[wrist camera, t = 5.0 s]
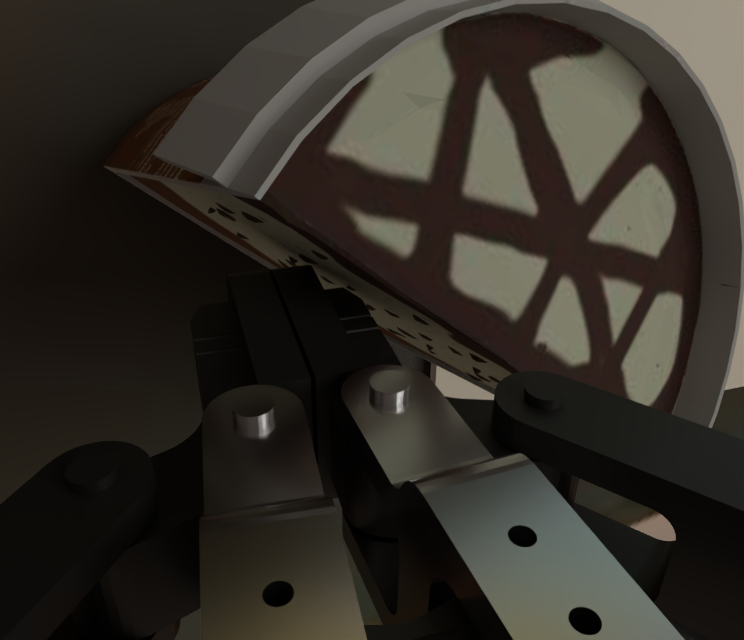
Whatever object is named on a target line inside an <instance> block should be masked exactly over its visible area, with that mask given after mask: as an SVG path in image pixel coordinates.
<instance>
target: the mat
mask: <svg viewBox="0 0 744 640" xmlns="http://www.w3.org/2000/svg"><path fill="white" fill-rule="evenodd" d="M599 1H601V2H603V3H605V4H607V5H609V6H611V7H613V8H615V9H617V10H618V11H620V12H622V13H624V14H626V15H628V16H630V17H632V18H634V19H636V20H638V21H640V22H642V23H644V24H645V25H647V26H649V27H650V28H651V29H652V30H653V31H655V32H656V33H657V34H658V35H659V36H660V37H662V38H663V39H664V40H665V41H666V42H667V43H668V44H670V45H671V46H672V47H673V48H674V49H675V50H677V51H678V52H679V53H680V55H681V56H682V57H683V58H684V60H685V61H686V62H687V64H688V65H689V66H690V68H691V69H692V70H693V72H694V73H695V74H696V76H697V77H698V78H699V79H700V81H701V82H702V83H703V85H704V87H705V89H706V90H707V92H708V94H709V96H710V98H711V100H712V102H713V104H714V106H715V108H716V110H717V112H718V114H719V116H720V118H721V120H722V122H723V125H724V128H725V131H726V134H727V137H728V140H729V143H730V146H731V150H732V153H733V156H734V159H735V162H736V168H737V173H738V179H739V184H740V189H741V195H742V200H743V211H744V0H599ZM430 379H431V380H432V381H433V382H434V384H435V385H436V386H437V387H438V389H439V390H440V391H441V393H442V394H443V395H444V396H446V397H452V398H461V399H481V400H494V394H492V393H490V392H488V391H486V390H484V389H482V388H480V387H478V386H476V385H474V384H472V383H470V382H468V381H466V380H464V379H462V378H460V377H458V376H456V375H454V374H452V373H450V372H448V371H447V370H445V369H443V368H441V367H439V366H437V365H435V364H433V363H431V371H430ZM742 386H744V294H743V302H742V309H741V317H740V325H739V332H738V336H737V341H736V346H735V350H734V355H733V359H732V364H731V369H730V373H729V376H728V380H727V383H726V386H725V390H727V389H732V388H737V387H742Z"/></svg>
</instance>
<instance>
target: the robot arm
mask: <svg viewBox="0 0 744 640" xmlns="http://www.w3.org/2000/svg"><path fill="white" fill-rule="evenodd" d="M227 292H228V302H223V303H215V304H207V305H200V307H199V309H198V310H197V312H196V314H195V315H194V317H193V318H192V320H191V329H192V337H193V344H194V352H195V359H196V367H197V374H198V382H199V389H200V396H201V403H202V409H203V416H202V422H201V424H200V426H199V427H198V428H197V430H196V431H195V432H194V433H193V434H192V435H191V436H190V437H189V438H188V439H186V440H185V441H184V442H182V443H180V444H179V445H177V446H175V447H174V448H171V449H169V450H167V451H165V452H162V453H160V454H157V455H155V456H153V457H149V455H148V454H147V453H146V452H145V451H144V450H142V449H141V448H139V447H138V446H135V445H133V444H130V443H125V442H119V441H102V442H95V443H90V444H86V445H82V446H79V447H76V448H74V449H71V450H69V451H67V452H65V453H63V454H61V455H60V456H58V457H56V458H55V459H54V460H52V461H51V462H50V463H48V464H47V465H46V466H45V467H44V468H42V469H41V470H40V471H39V472H38V473H37V474H35V475H34V476H33V477H32V478H31V479H30V480H28V481H27V482H26V483H25V484H24V485H22V486H21V487H20V488H19V489H18V490H17V491H15V492H14V493H13V494H12V495H11V496H10V497H8V498H7V499H6V500H5V501H4V502H3V503H1V504H0V640H174V639H175V637H176V635H177V633H178V630H179V627H180V621H181V618H183V617H185V616H187V615H188V614H190V613H192V612H194V611H196V610H198V609H199V608H200V617H201V640H744V440H743V439H740V438H737V437H734V436H731V435H728V434H726V433H723V432H720V431H717V430H714V429H712V428H709V427H706V426H703V425H700V424H697V423H695V422H692V421H689V420H686V419H683V418H680V417H678V416H675V415H672V414H669V413H666V412H664V411H661V410H658V409H655V408H652V407H649V406H647V405H644V404H641V403H638V402H635V401H632V400H630V399H627V398H624V397H621V396H618V395H616V394H613V393H610V392H607V391H604V390H601V389H599V388H596V387H593V386H590V385H587V384H585V383H582V382H579V381H576V380H573V379H570V378H568V377H565V376H562V375H558V374H555V373H550V372H544V371H522V372H518V373H514V374H511V375H509V376H507V377H505V378H503V379H502V380H501V381H500V382H499V383H498V385H497V386H496V389H495V395H494V400H481V399H461V398H452V397H446V396H444V395H443V394H442V393H441V391H440V390H439V389H438V387H437V386H436V385H435V384H434V382H433V381H432V380H431V379H430V378H429V377H427V376H426V375H425V374H423V373H421V372H419V371H417V370H415V369H412V368H409V367H405V366H402V365H401V363H400V361H399V360H398V358H397V356H396V355H395V353H394V351H393V350H392V348H391V346H390V345H389V343H388V341H387V340H386V338H385V336H384V335H383V333H382V331H381V330H379V328H378V325H377V323H376V322H375V320H374V318H373V317H371V313H370V312H369V310H368V308H367V307H366V305H365V303H364V302H363V300H362V299H361V298H359V297H358V296H356V295H355V294H353V293H351V292H350V291H348V290H347V289H345V288H343V287H340V288H332V289H324V288H323V286H322V284H321V282H320V280H319V278H318V277H317V275H316V273H315V271H314V269H313V267H312V265H303V266H294V267H286V268H277V269H270V273H269V271H268V270H261V271H252V272H244V273H235V274H227ZM579 478H580V479H583V480H585V481H587V482H590V483H592V484H594V485H597V486H599V487H601V488H604V489H606V490H608V491H611V492H613V493H616V494H618V495H620V496H623V497H625V498H627V499H630V500H632V501H634V502H637V503H639V504H641V505H644V506H646V507H649V508H651V509H653V510H655V511H657V512H659V513H660V514H662V515H663V516H664V517H665V518H666V519H667V520H668V521H669V522H670V523H671V525H672V526H673V528H674V530H675V533H676V540H675V541H662V540H658V539H655V538H653V537H651V536H649V535H646V534H644V533H642V532H640V531H637V530H635V529H633V528H631V527H628V526H626V525H624V524H622V523H619V522H617V521H615V520H613V519H610V518H608V517H606V516H604V515H601V514H599V513H597V512H595V511H592V510H590V509H588V508H586V507H583V506H581V505H579V504H577V503H574V501H575V497H576V492H577V487H578V483H579ZM333 498H339V501H340V504H341V507H342V529H343V537H344V540H345V543H346V545H347V547H348V549H349V551H350V554H351V556H352V558H353V560H354V562H355V565H356V567H357V569H358V571H359V573H360V576H361V578H362V580H363V582H364V584H365V587H366V589H367V591H368V593H369V595H370V598H371V600H372V602H373V604H374V606H375V609H376V611H377V613H378V615H379V617H380V620H381V622H382V624H383V625H364V624H363V620H362V616H361V612H360V608H359V604H358V600H357V595H356V591H355V587H354V583H353V579H352V575H351V571H350V566H349V562H348V558H347V554H346V550H345V546H344V542H343V537H342V533H341V529H340V525H339V521H338V517H337V513H336V509H335V505H334V502H333V500H332V499H333Z"/></svg>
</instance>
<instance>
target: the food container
mask: <svg viewBox="0 0 744 640" xmlns="http://www.w3.org/2000/svg"><path fill="white" fill-rule="evenodd" d="M103 166H104V167H105V168H107V169H109V170H110V171H112V172H113V173H115V174H117V175H118V176H120V177H122V178H123V179H125V180H126V181H128V182H130V183H131V184H133V185H135V186H136V187H138V188H139V189H141V190H143V191H144V192H146V193H148V194H149V195H151V196H152V197H154V198H156V199H157V200H159V201H161V202H162V203H164V204H165V205H167V206H169V207H170V208H172V209H173V210H175V211H177V212H178V213H180V214H182V215H183V216H185V217H186V218H188V219H190V220H191V221H193V222H195V223H196V224H198V225H199V226H201V227H203V228H204V229H206V230H208V231H209V232H211V233H212V234H214V235H216V236H217V237H219V238H221V239H222V240H224V241H225V242H227V243H229V244H230V245H232V246H233V247H235V248H237V249H238V250H240V251H242V252H243V253H245V254H246V255H248V256H250V257H251V258H253V259H255V260H256V261H258V262H259V263H261V264H263V265H264V266H266V267H268V268H269V269H277V268H286V267H294V266H303V265H312V267H313V269H314V271H315V273H316V275H317V277H318V278H319V280H320V282H321V284H322V286H323V288H324V289H332V288H340V287H343V288H345V289H347V290H348V291H350V292H351V293H353V294H355V295H356V296H358V297H359V298H361V299H362V300H363V302H364V303H365V305H366V307H367V308H368V310H369V312H370V313H371V317H373V318H374V320H375V322H376V323H377V325H378V328H379V330H381V331H382V333H383V335H384V336H385V338H386V340H388V341H390V342H392V343H394V344H396V345H397V346H399V347H401V348H403V349H405V350H407V351H409V352H411V353H413V354H415V355H417V356H419V357H421V358H423V359H425V360H427V361H429V362H431V363H433V364H435V365H437V366H439V367H441V368H443V369H445V370H447V371H448V372H450V373H452V374H454V375H456V376H458V377H460V378H462V379H464V380H466V381H468V382H470V383H472V384H474V385H476V386H478V387H480V388H482V389H484V390H486V391H488V392H490V393H492V394H494V395H495V389H496V386H497V385H498V383H499V382H500V381H501V380H502V379H503V378H505V377H507V376H509V375H511V374H514V373H518V372H522V371H544V372H550V373H555V374H558V375H562V376H565V377H568V378H570V379H573V380H576V381H579V382H582V383H585V384H587V385H590V386H593V387H596V388H599V389H601V390H604V391H607V392H610V393H613V394H616V395H618V396H621V397H624V398H627V399H630V400H632V401H635V402H638V403H641V404H644V405H647V406H649V407H652V408H655V409H658V410H661V411H664V412H666V413H669V414H672V415H675V416H678V417H680V418H683V419H686V420H689V421H692V422H695V423H697V424H700V425H703V426H706V427H709V428H712V426H713V423H714V421H715V418H716V416H717V413H718V409H719V406H720V403H721V399H722V396H723V393H724V390H725V386H726V383H727V380H728V376H729V373H730V369H731V364H732V359H733V355H734V350H735V346H736V341H737V336H738V332H739V325H740V317H741V309H742V302H743V294H744V211H743V200H742V195H741V189H740V184H739V179H738V173H737V168H736V162H735V159H734V156H733V153H732V150H731V146H730V143H729V140H728V137H727V134H726V131H725V128H724V125H723V122H722V120H721V118H720V116H719V114H718V112H717V110H716V108H715V106H714V104H713V102H712V100H711V98H710V96H709V94H708V92H707V90H706V89H705V87H704V85H703V83H702V82H701V81H700V79H699V78H698V77H697V76H696V74H695V73H694V72H693V70H692V69H691V68H690V66H689V65H688V64H687V62H686V61H685V60H684V58H683V57H682V56H681V55H680V53H679V52H678V51H677V50H675V49H674V48H673V47H672V46H671V45H670V44H668V43H667V42H666V41H665V40H664V39H663V38H662V37H660V36H659V35H658V34H657V33H656V32H655V31H653V30H652V29H651V28H650V27H649V26H647V25H645V24H644V23H642V22H640V21H638V20H636V19H634V18H632V17H630V16H628V15H626V14H624V13H622V12H620V11H618V10H617V9H615V8H613V7H611V6H609V5H607V4H605V3H603V2H601V1H599V0H315V1H313V2H311V3H308V4H306V5H304V6H302V7H300V8H299V9H297V10H296V11H295V12H293V13H292V14H290V15H289V16H287V17H286V18H285V19H283V20H282V21H280V22H279V23H277V24H276V25H275V26H273V27H272V28H270V29H269V30H267V31H266V32H265V33H263V34H262V35H260V36H259V37H257V38H256V39H255V40H253V41H252V42H250V43H249V44H247V45H246V46H245V47H244V48H243V49H242V50H241V51H240V52H239V53H238V54H237V55H236V56H235V57H234V58H233V59H232V60H231V61H230V62H229V63H228V64H227V65H226V66H225V67H224V68H223V69H222V70H221V71H220V72H219V73H218V74H217V75H216V76H214V77H211V78H208V79H204V80H201V81H199V82H197V83H195V84H193V85H191V86H189V87H187V88H185V89H182V90H180V91H178V92H176V93H174V94H172V95H171V96H170V97H168V98H167V99H165V100H164V101H163V102H161V103H160V104H158V105H157V106H156V107H154V108H153V109H151V110H150V111H149V112H147V113H146V114H145V115H144V116H143V117H142V118H141V119H140V120H139V121H138V122H137V123H136V124H135V125H134V126H133V127H132V128H131V129H130V130H129V131H128V132H127V133H126V134H125V135H124V136H123V138H122V139H121V141H120V142H119V143H118V145H117V146H116V148H115V149H114V150H113V152H112V153H111V155H110V156H109V158H108V159H107V160H106V162H105V163H104V165H103Z"/></svg>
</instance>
